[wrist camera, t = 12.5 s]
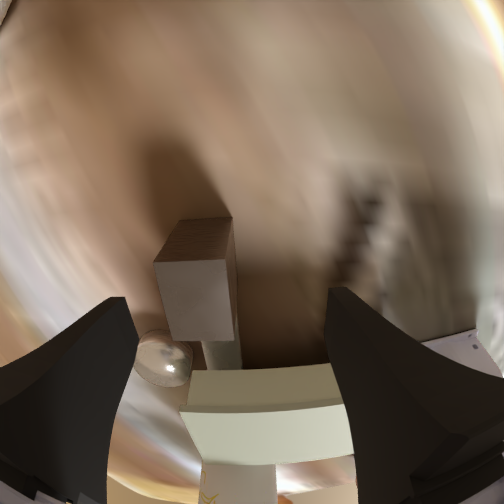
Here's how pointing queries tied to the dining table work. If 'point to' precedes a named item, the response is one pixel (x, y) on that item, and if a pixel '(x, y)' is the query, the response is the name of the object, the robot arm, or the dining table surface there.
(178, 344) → the token
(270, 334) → the dining table surface
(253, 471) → the beige cylinder
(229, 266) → the dark grey long block
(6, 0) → the cereal bowl
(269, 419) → the pale green rectangular block
